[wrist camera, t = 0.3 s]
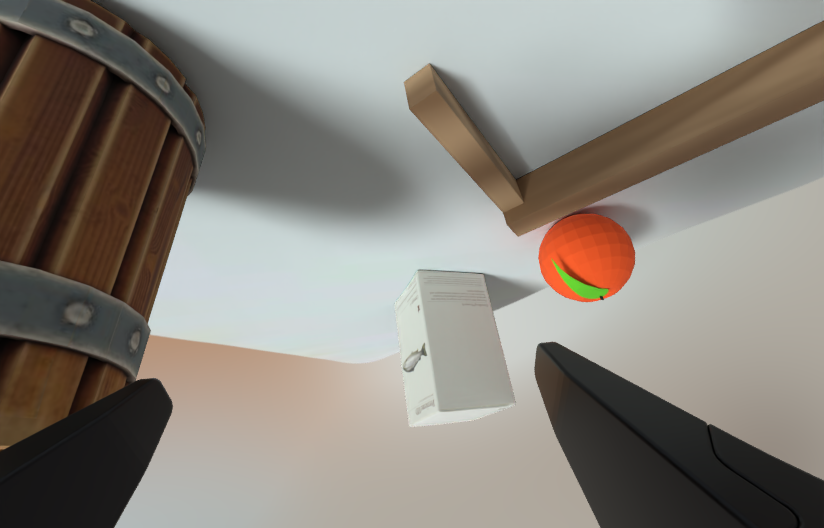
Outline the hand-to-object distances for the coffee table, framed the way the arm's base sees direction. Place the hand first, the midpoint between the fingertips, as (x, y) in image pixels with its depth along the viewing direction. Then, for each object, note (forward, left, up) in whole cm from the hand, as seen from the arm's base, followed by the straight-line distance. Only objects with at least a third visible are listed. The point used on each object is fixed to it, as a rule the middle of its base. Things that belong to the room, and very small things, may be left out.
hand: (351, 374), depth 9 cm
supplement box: (+25, -10, -15) cm, 31 cm away
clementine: (+23, +4, -15) cm, 28 cm away
